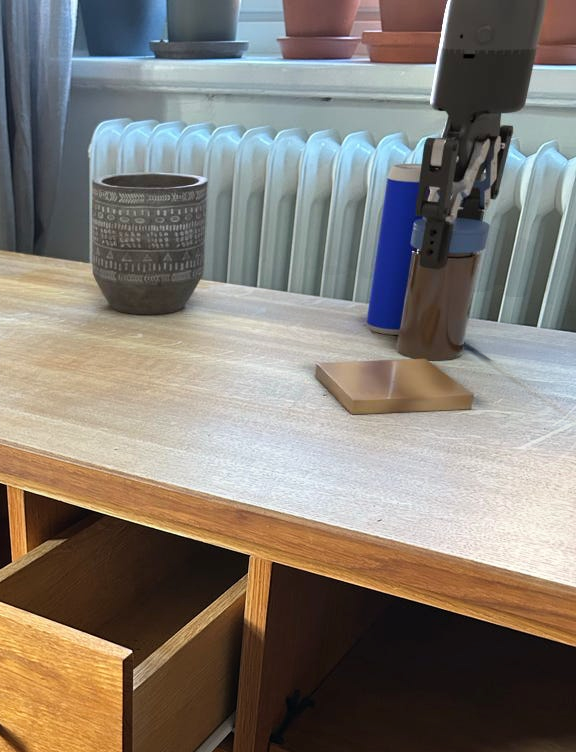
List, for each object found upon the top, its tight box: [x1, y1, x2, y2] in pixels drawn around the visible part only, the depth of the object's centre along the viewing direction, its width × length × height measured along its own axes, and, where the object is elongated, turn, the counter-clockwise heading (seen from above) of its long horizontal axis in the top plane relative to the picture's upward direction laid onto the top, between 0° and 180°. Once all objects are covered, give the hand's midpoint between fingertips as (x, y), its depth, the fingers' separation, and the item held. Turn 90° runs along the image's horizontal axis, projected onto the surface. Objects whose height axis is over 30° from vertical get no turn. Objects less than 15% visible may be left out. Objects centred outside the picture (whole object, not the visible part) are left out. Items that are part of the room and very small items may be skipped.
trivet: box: [314, 358, 475, 415], centre depth 81 cm, size 10×10×1 cm
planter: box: [91, 171, 209, 316], centre depth 103 cm, size 12×12×13 cm
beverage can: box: [366, 163, 440, 336], centre depth 93 cm, size 5×5×15 cm
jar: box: [395, 248, 482, 361], centre depth 88 cm, size 6×6×11 cm
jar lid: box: [411, 217, 491, 253], centre depth 85 cm, size 6×6×2 cm
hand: (447, 259), depth 86 cm, fingers closed on jar lid, 6 cm apart
